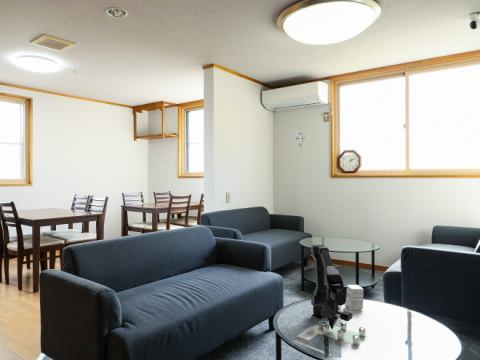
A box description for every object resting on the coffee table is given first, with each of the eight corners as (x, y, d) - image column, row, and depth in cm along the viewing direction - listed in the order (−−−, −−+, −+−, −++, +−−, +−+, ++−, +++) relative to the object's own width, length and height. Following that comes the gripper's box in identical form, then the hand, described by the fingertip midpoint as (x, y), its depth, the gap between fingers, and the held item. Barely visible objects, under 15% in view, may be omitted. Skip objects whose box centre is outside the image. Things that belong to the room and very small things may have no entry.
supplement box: (345, 305, 205) (346, 284, 205) (357, 305, 206) (358, 284, 205) (350, 310, 198) (351, 288, 197) (363, 310, 198) (363, 288, 198)
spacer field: (321, 334, 166) (322, 326, 166) (333, 325, 176) (333, 318, 176) (357, 346, 155) (358, 339, 155) (367, 336, 165) (368, 329, 165)
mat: (313, 332, 169) (313, 331, 169) (325, 324, 179) (325, 322, 179) (357, 348, 155) (357, 346, 155) (367, 337, 165) (367, 336, 165)
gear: (316, 329, 171) (316, 323, 171) (320, 325, 176) (320, 319, 176) (327, 332, 168) (327, 326, 168) (331, 328, 173) (331, 322, 173)
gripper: (307, 297, 169) (307, 328, 170) (343, 307, 157) (343, 340, 158) (318, 291, 178) (317, 321, 178) (353, 300, 166) (352, 332, 166)
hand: (331, 328), depth 170 cm, fingers closed
